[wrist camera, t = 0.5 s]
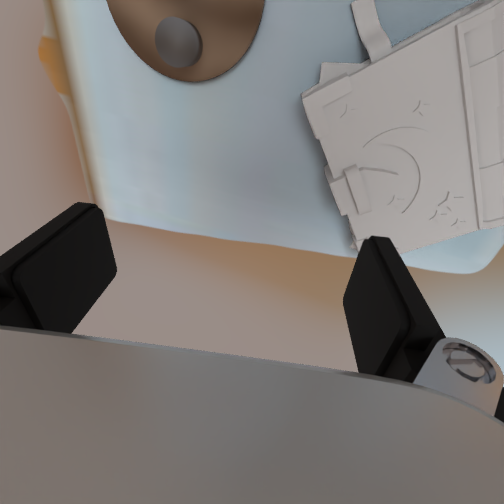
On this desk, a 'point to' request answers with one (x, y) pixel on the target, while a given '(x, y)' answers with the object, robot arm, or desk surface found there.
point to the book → (416, 128)
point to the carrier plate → (206, 15)
